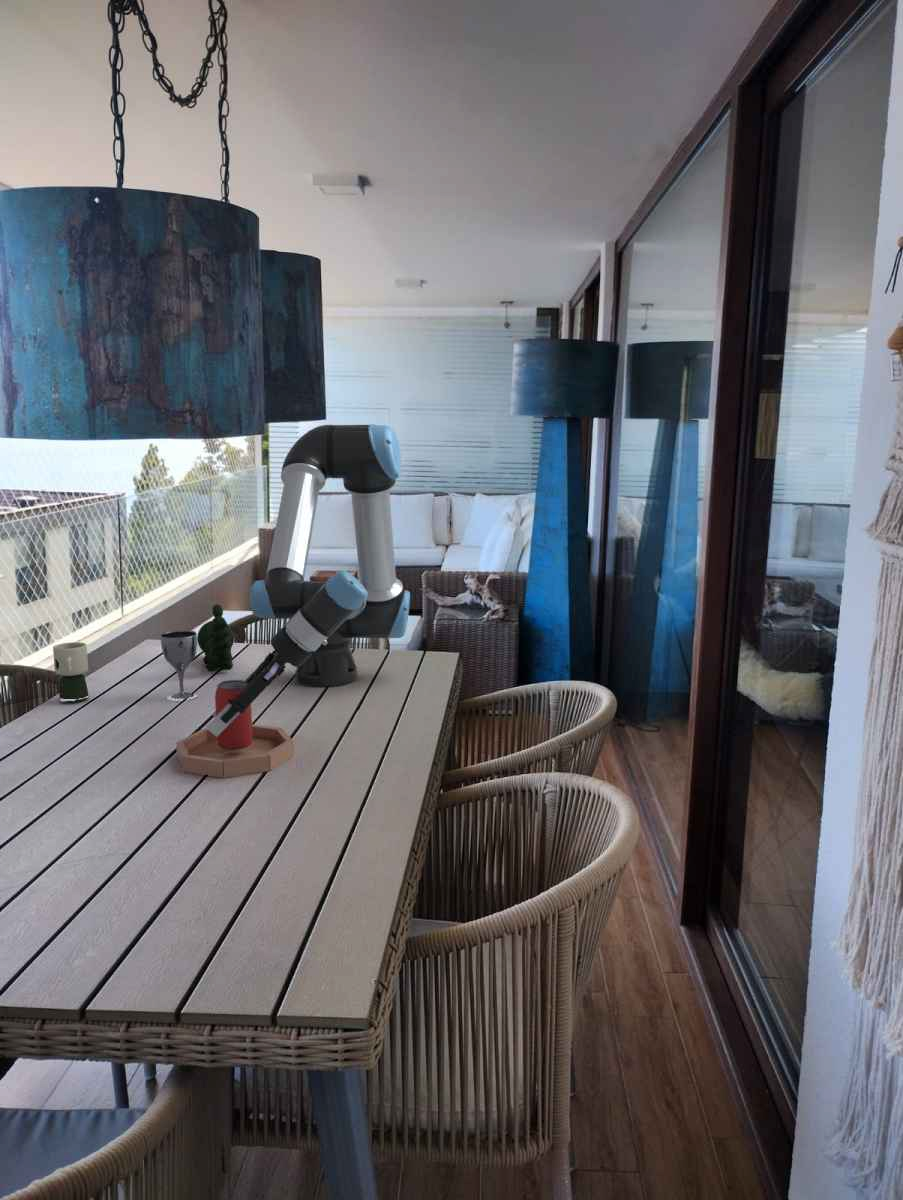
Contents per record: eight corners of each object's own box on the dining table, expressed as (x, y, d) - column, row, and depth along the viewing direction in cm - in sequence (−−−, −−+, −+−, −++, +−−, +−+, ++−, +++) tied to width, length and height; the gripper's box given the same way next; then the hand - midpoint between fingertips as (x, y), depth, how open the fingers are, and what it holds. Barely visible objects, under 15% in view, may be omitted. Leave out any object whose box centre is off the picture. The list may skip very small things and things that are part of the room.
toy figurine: (241, 682, 239) (232, 650, 262) (238, 609, 234) (229, 584, 257) (202, 685, 236) (196, 653, 259) (199, 612, 231) (193, 586, 254)
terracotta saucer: (172, 747, 186) (171, 733, 185) (275, 733, 194) (274, 719, 194) (189, 783, 168) (188, 767, 167) (302, 766, 176) (301, 750, 175)
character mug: (60, 695, 222) (56, 641, 219) (93, 693, 224) (88, 639, 221) (54, 709, 212) (49, 652, 209) (88, 706, 213) (83, 650, 211)
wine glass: (199, 700, 217) (196, 636, 214) (163, 703, 215) (159, 638, 213) (200, 691, 225) (196, 629, 222) (165, 693, 223) (161, 631, 220)
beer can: (245, 751, 177) (241, 689, 175) (211, 749, 178) (208, 688, 176) (258, 740, 183) (255, 680, 181) (226, 738, 184) (223, 678, 182)
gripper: (309, 666, 169) (221, 756, 171) (316, 640, 188) (237, 722, 190) (278, 637, 167) (189, 729, 169) (288, 615, 186) (209, 697, 188)
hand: (215, 725), depth 180 cm, fingers closed on beer can, 6 cm apart
